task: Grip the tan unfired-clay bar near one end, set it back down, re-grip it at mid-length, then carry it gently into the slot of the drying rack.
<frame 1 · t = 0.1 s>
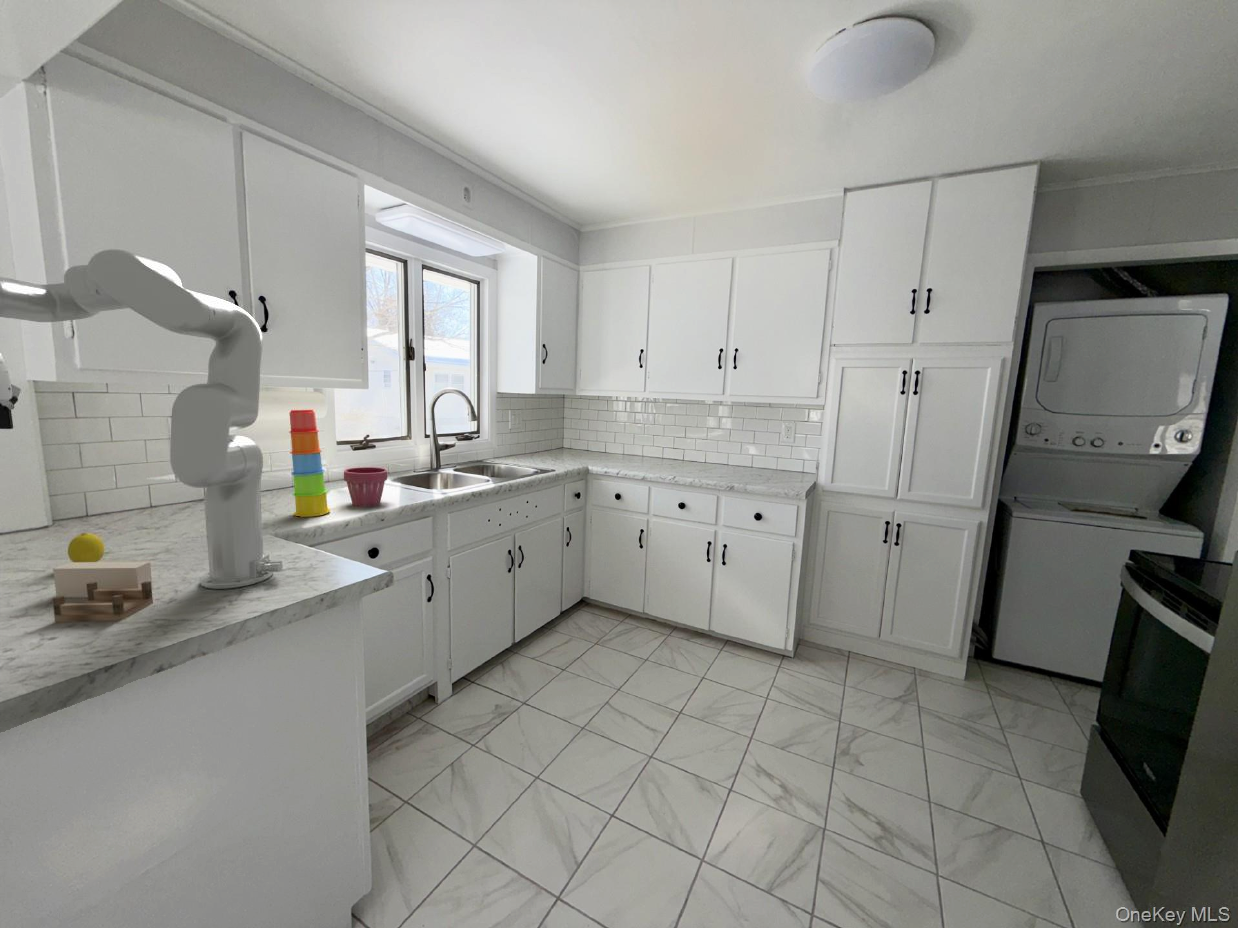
lemon: (88, 567, 110), on the countertop
rack: (106, 611, 90), on the countertop
plant pot: (366, 504, 179), on the countertop
clay bar: (106, 593, 97), on the countertop
stacking cups: (312, 514, 162), on the countertop
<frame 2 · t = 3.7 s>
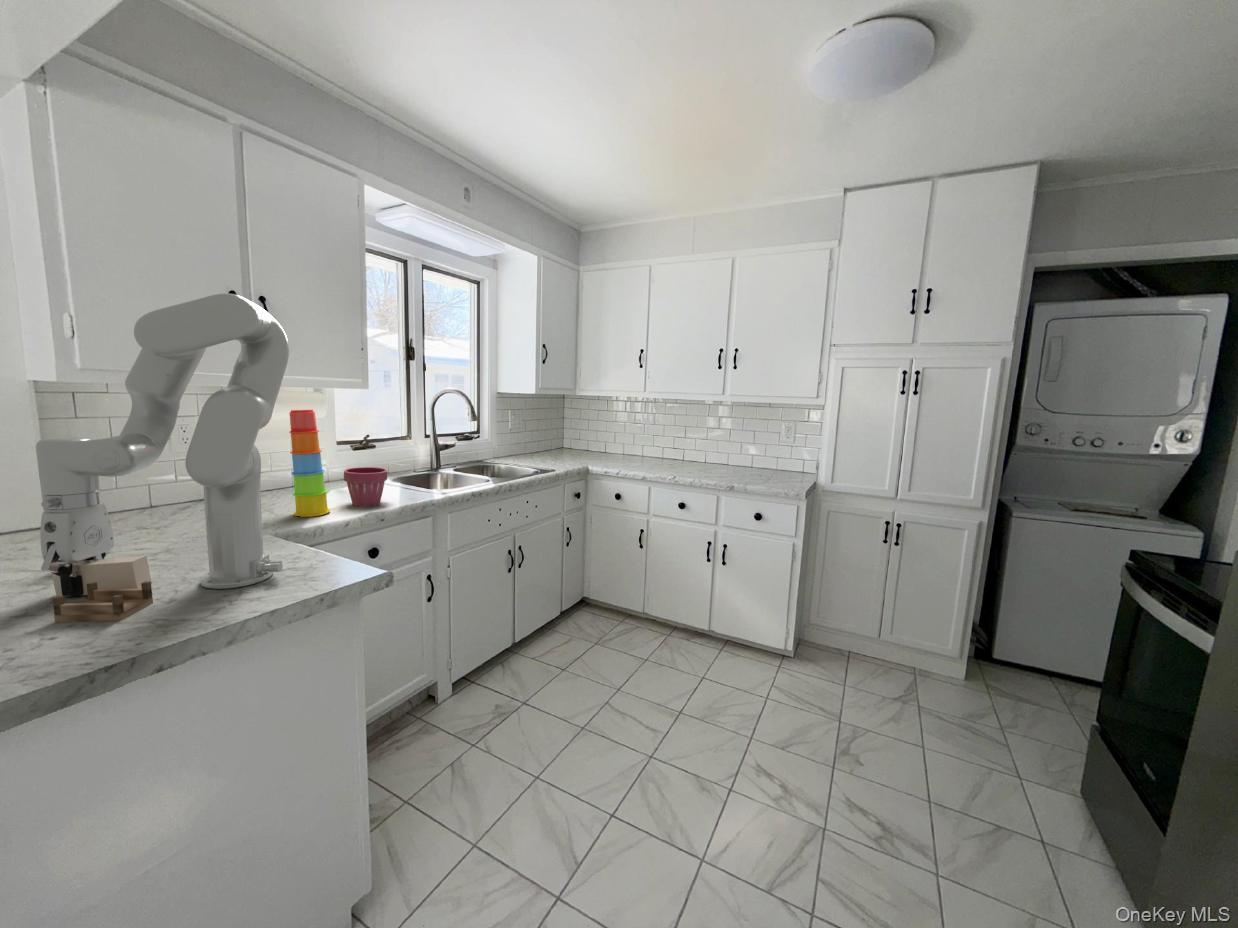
hand: (82, 590, 97), 1 cm above the countertop, fingers closed on clay bar, 3 cm apart
clay bar: (105, 590, 97), point 1 cm above the countertop, touching gripper
everything else where it was.
when the fingers open (1 cm above the countertop, at t = 5.2 s): clay bar stays where it is, on the countertop.
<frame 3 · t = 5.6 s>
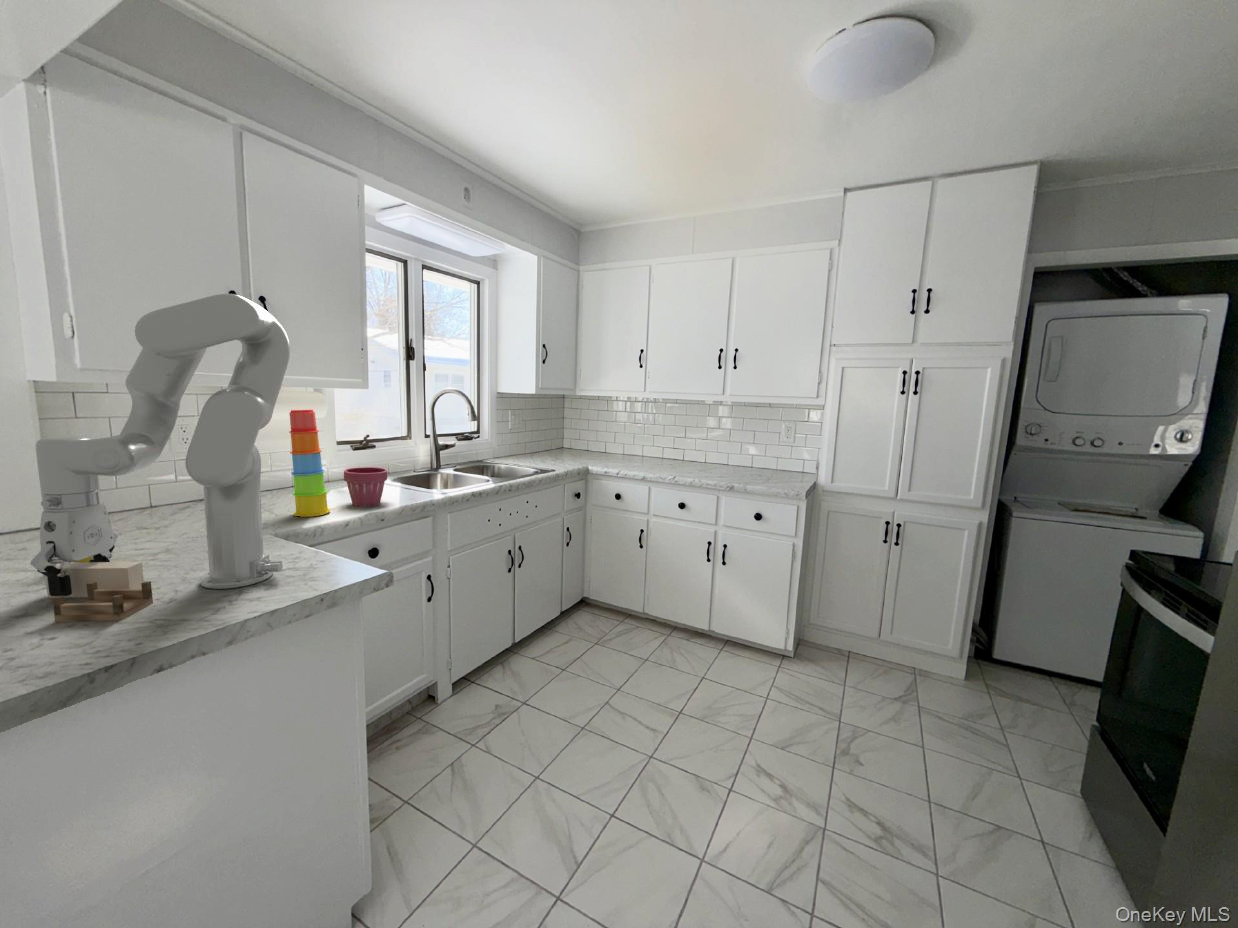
hand: (82, 586, 96), 1 cm above the countertop, fingers open, 8 cm apart
clay bar: (97, 594, 97), on the countertop
everything else where it was.
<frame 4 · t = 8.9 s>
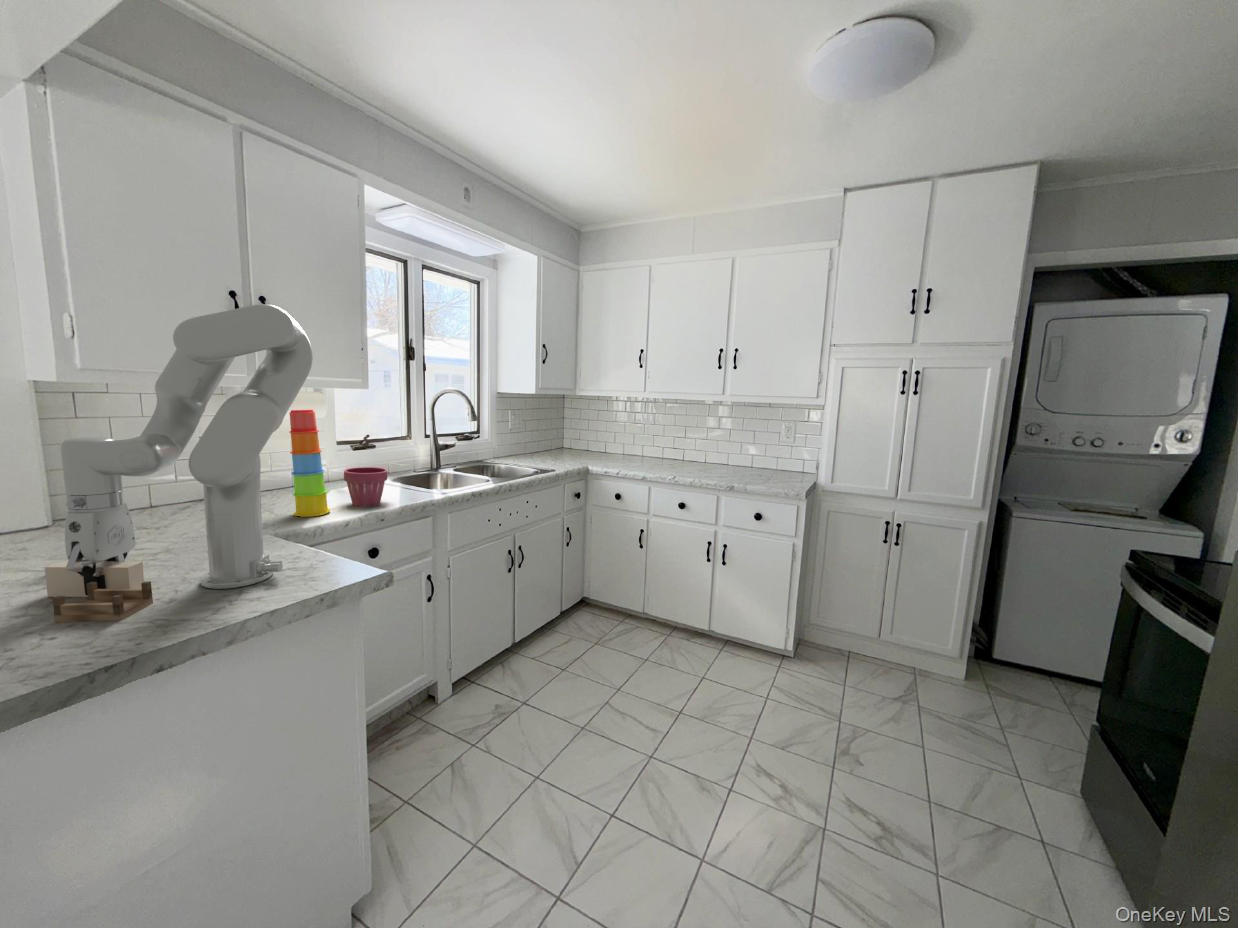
hand: (105, 589, 97), 1 cm above the countertop, fingers closed on clay bar, 3 cm apart
clay bar: (97, 593, 97), on the countertop, touching gripper
everything else where it was.
when the fingers open (4 cm above the countertop, at t = 13.6 s): clay bar stays where it is, resting on rack.
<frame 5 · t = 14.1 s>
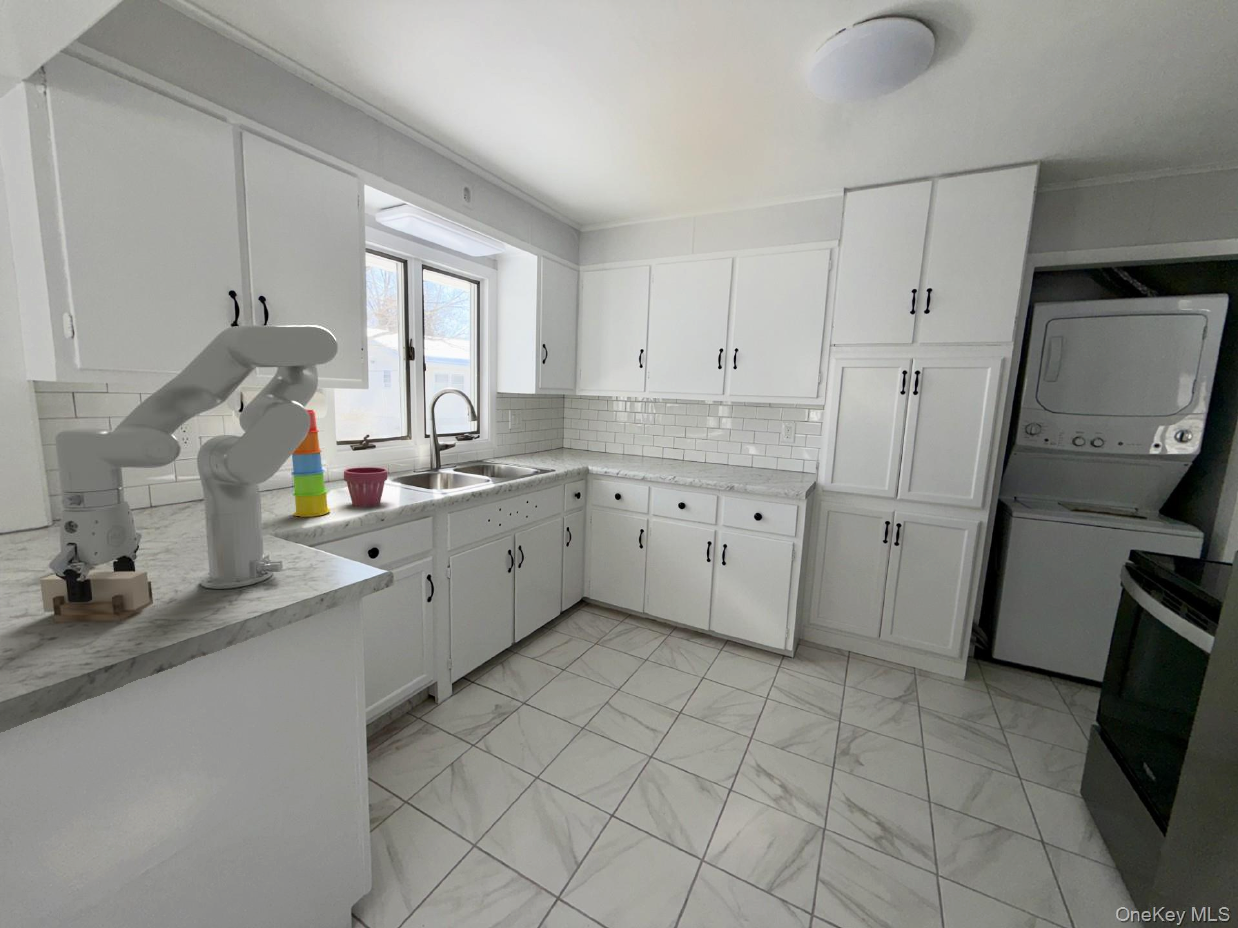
hand: (104, 590, 89), 4 cm above the countertop, fingers open, 8 cm apart
clay bar: (98, 606, 89), point 1 cm above the countertop, touching rack
everything else where it was.
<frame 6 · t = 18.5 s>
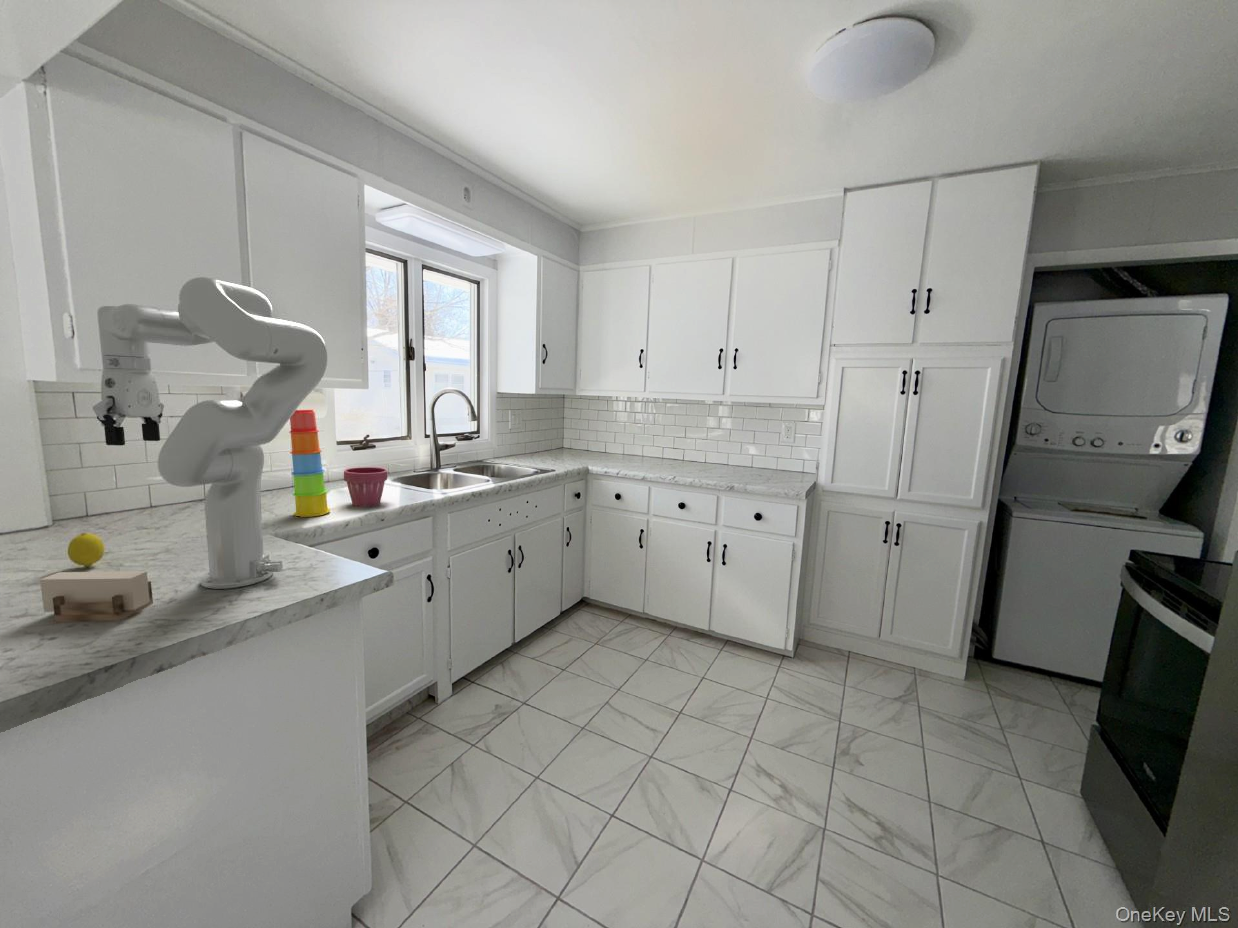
hand: (134, 442, 109), 28 cm above the countertop, fingers open, 9 cm apart
nothing on the countertop moved.
at the end: clay bar 0.9 cm off-centre on the rack, point 1.2 cm above the rack's base; clay bar tilted 0°; the gripper is holding nothing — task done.
